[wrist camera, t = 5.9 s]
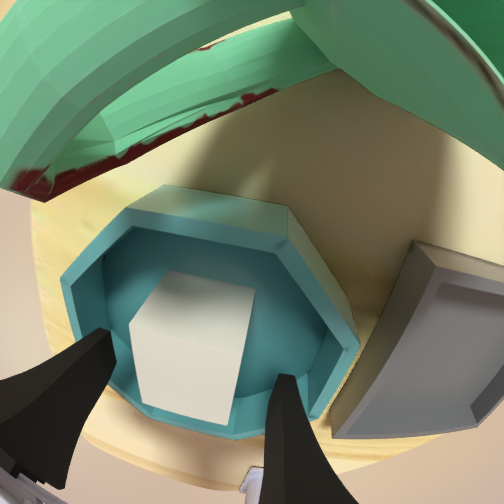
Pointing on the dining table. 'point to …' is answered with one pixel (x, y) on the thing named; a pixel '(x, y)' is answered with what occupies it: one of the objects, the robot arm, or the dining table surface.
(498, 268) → the parts tray
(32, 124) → the mug
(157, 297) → the off-white smooth cube
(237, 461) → the dining table surface
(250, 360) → the bowl
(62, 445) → the robot arm
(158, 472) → the dining table surface
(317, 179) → the dining table surface
